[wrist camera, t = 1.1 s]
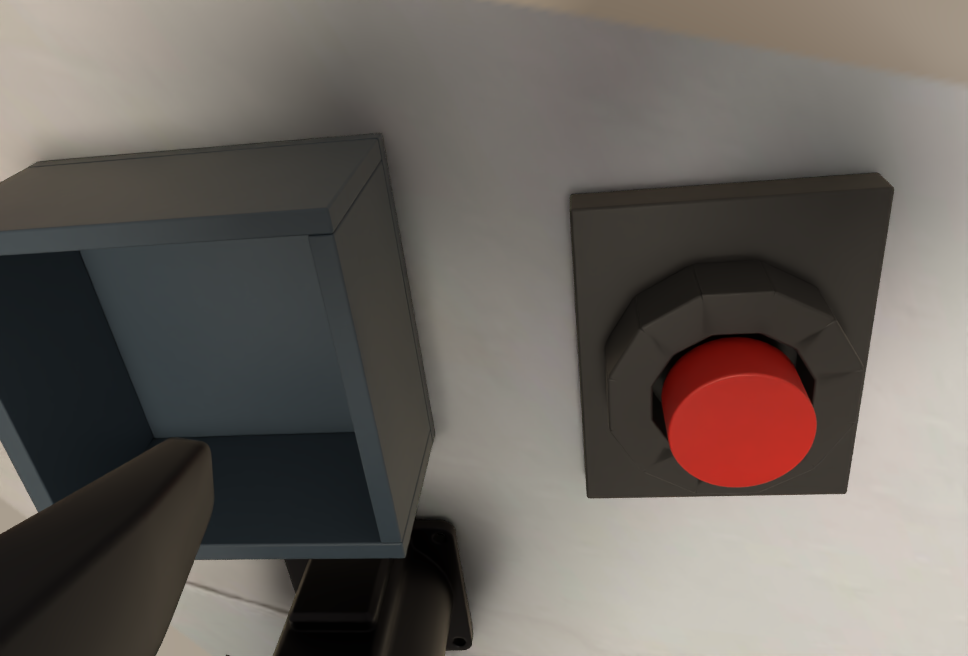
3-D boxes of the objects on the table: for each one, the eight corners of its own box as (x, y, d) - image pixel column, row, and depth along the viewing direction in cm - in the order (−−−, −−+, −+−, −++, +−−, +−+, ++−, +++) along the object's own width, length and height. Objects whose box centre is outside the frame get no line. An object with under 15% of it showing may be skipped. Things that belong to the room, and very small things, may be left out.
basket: (435, 434, 26) (405, 559, 21) (150, 443, 27) (63, 561, 23) (382, 132, 21) (327, 207, 16) (36, 161, 22) (-107, 239, 18)
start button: (793, 444, 22) (809, 487, 20) (660, 447, 22) (667, 489, 21) (805, 332, 20) (824, 370, 18) (661, 339, 20) (668, 376, 19)
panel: (836, 469, 25) (866, 537, 23) (586, 474, 26) (588, 540, 24) (879, 171, 20) (924, 214, 18) (569, 193, 21) (569, 237, 19)
